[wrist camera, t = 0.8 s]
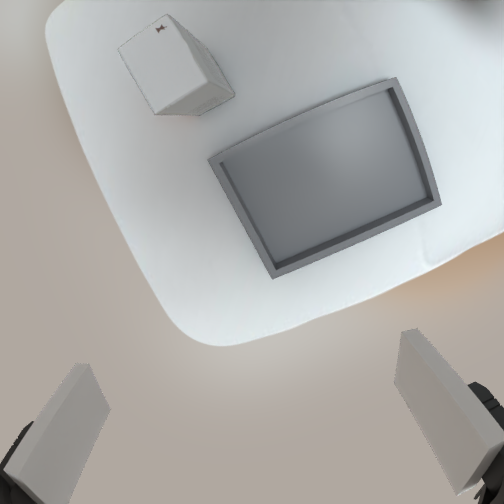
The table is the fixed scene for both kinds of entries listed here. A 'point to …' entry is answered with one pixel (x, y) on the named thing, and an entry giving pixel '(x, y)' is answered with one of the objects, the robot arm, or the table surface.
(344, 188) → the tray
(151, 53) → the skincare box
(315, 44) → the table surface
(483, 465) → the robot arm
